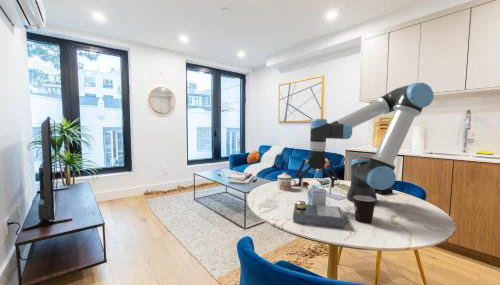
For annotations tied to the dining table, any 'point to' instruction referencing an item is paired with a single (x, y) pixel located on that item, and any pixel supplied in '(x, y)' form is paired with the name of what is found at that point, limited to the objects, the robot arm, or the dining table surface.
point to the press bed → (319, 215)
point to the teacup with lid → (285, 182)
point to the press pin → (301, 205)
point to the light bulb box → (316, 195)
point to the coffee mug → (364, 208)
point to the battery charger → (384, 191)
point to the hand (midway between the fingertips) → (315, 192)
